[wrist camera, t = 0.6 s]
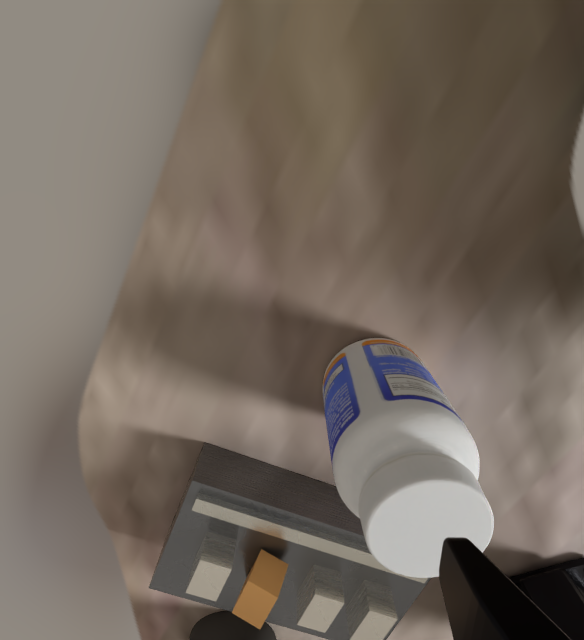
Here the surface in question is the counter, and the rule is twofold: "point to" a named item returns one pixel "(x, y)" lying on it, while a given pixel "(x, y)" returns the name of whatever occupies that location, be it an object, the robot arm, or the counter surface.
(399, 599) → the breaker panel
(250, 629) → the dark grey cylinder
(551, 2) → the counter surface
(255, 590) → the breaker paddle
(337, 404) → the pill bottle
